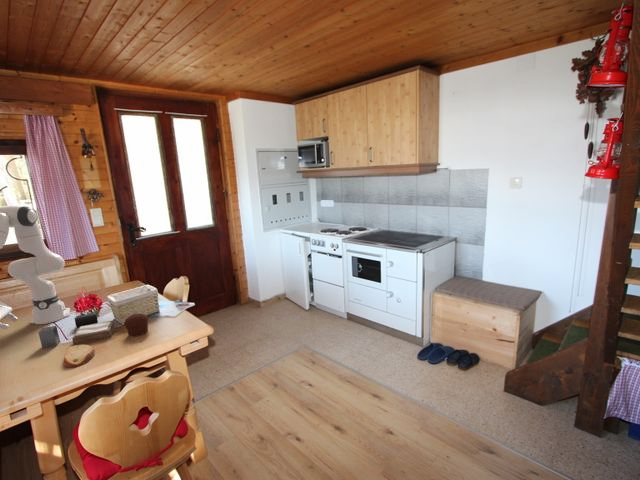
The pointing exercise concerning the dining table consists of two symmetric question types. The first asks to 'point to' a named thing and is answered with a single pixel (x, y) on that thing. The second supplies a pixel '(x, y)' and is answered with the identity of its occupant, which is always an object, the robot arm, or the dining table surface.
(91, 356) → the slice of bread
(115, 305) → the storage basket
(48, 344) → the block
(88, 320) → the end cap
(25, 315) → the dining table surface
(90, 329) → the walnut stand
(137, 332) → the muffin
